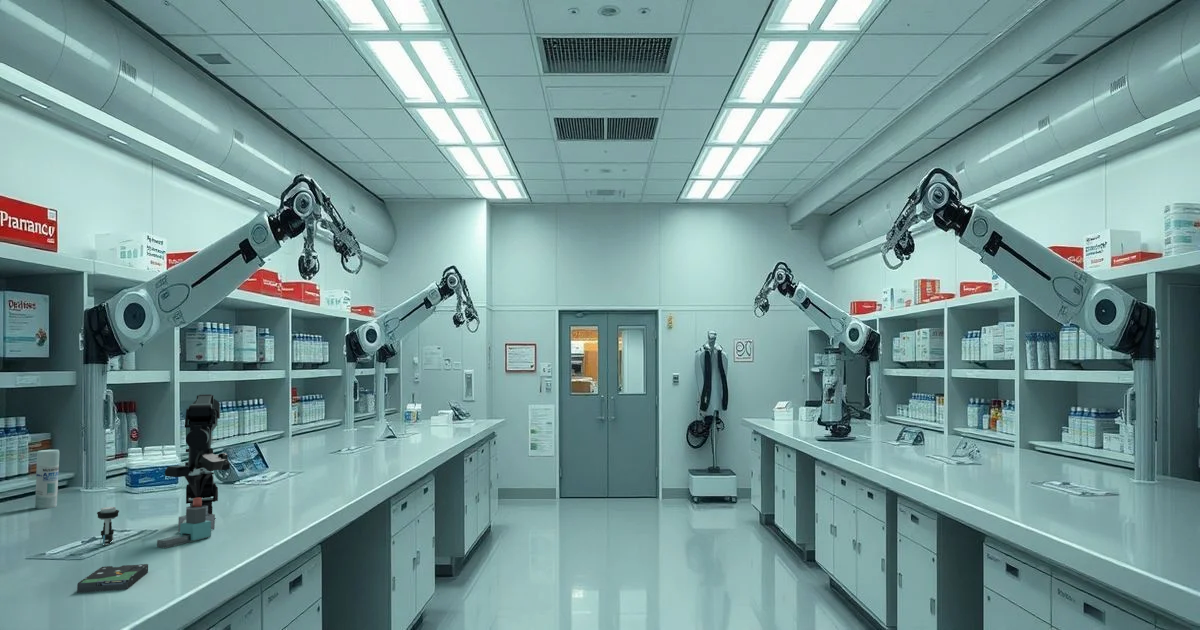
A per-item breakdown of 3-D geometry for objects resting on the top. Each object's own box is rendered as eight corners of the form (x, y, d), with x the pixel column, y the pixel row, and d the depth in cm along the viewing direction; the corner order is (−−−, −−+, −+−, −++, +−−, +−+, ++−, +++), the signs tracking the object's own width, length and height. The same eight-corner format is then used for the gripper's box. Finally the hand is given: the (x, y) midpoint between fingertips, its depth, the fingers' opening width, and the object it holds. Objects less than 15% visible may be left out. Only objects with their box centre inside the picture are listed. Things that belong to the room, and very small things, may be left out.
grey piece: (177, 532, 230) (178, 507, 231) (198, 527, 237) (199, 503, 238) (193, 534, 228) (194, 509, 228) (214, 529, 234) (215, 505, 235)
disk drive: (100, 578, 183) (76, 595, 169) (100, 566, 184) (76, 582, 169) (148, 575, 186) (128, 591, 172) (148, 563, 186) (129, 578, 172)
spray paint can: (50, 504, 275) (52, 449, 276) (61, 506, 272) (63, 450, 273) (30, 507, 269) (33, 451, 270) (41, 509, 266) (44, 451, 268)
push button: (116, 545, 213) (118, 509, 214) (94, 547, 211) (95, 511, 211) (118, 540, 219) (120, 505, 220) (96, 542, 217) (98, 507, 217)
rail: (164, 548, 210) (164, 540, 210) (156, 547, 211) (157, 539, 211) (210, 536, 224) (211, 530, 224) (203, 536, 225) (203, 529, 225)
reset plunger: (191, 506, 232) (191, 498, 233) (197, 505, 235) (198, 497, 235) (196, 507, 231) (196, 499, 232) (203, 506, 234) (203, 497, 234)
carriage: (192, 540, 217) (193, 510, 218) (179, 539, 219) (180, 509, 220) (210, 536, 223) (211, 507, 223) (197, 534, 225) (198, 505, 225)
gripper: (191, 449, 222) (189, 503, 222) (243, 443, 240) (241, 493, 239) (164, 448, 227) (162, 500, 226) (217, 441, 244) (216, 491, 243)
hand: (197, 496), depth 233 cm, fingers closed
